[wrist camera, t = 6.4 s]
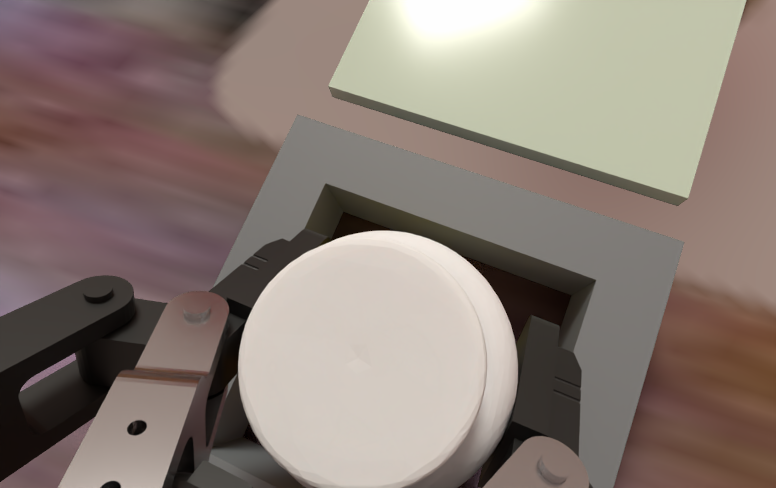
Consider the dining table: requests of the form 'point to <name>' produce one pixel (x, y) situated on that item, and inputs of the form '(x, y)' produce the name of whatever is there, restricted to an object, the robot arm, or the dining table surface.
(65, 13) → the dining table surface
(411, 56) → the coaster
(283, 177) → the post collar
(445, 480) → the supplement bottle
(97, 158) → the dining table surface
